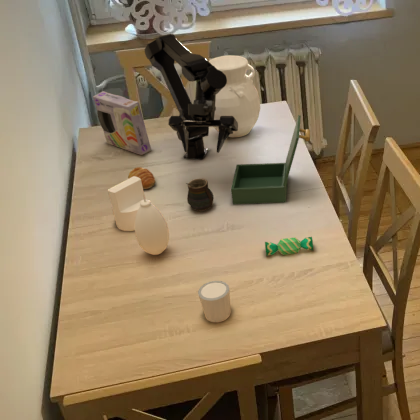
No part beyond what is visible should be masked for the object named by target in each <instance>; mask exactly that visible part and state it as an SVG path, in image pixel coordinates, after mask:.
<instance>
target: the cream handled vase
mask: <svg viewBox="0 0 420 420" xmlns="http://www.w3.org/2000/svg"><path fill="white" fill-rule="evenodd" d="M208 61H209V62H210V63H211V64H212V65H213V66H215V68H217V70H220V71H222V72H223V73H224V74H225V75H226V78H227V83H226V85H225V86H224V87H223V89H222V90H221V91H220V92H219V93H218V94H216V100H215V107H216V110H215V116H214V120H220V117H221V116H233V117H234V118H235V119H236V121H237V122H238V131H233V134H230V135H229V136H228V138H241V137H245V136H247V135H248V134H249V133H250V132H251V131H252V130H253V128H254V127H255V126H256V123H257V121H258V120H259V116H260V112H261V99H260V96H259V92H258V89H257V88H256V86H255V83H254V78H255V75H256V70H255V69H254V67H253V66H252V65H251V64H249V60H248V59H247V58H246V57H244V56H242V55H233V54H231V55H229V54H228V55H227V54H226V55H220V56H216V57H213V58H211V59H209V60H208ZM249 70H250V74H247V71H249ZM213 128H214V129H215V130H216V131H217V132H218V133H219V127H213Z"/></svg>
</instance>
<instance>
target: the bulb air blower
mask: <svg viewBox="0 0 420 420" xmlns="http://www.w3.org/2000/svg"><path fill="white" fill-rule="evenodd" d="M143 198H144V200H143V201H141V202H140V207H139V209H138V211H137V214H136V218H135V230H134V235H135V238H136V241H137V243H138V245H139V246H140V248H141V249H142V250H143V251H144V252H146V254H150V255H153V256H158V255H160V254H162V253H163V252H164V251H165V250H166V249H167V248H168V245H169V241H170V229H169V225H168V223H167V220H166V218H165V216H164V215H163V213H162V212H161V210H160V209H159V208H158V207H157V206H156V205H154V204H153V203H152V201H151V200H150V199H147V198H146V195H145V192H144V193H143Z"/></svg>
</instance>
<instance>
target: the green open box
mask: <svg viewBox="0 0 420 420" xmlns="http://www.w3.org/2000/svg"><path fill="white" fill-rule="evenodd" d="M285 163H286V162H270V163H269V162H268V163H244V164H243V163H241V164H236V166H235V169H234V170H235V171H234V175H233V178H232V183H231V186H230V195H231V201H232V205H251V204H255V205H256V204H276V203H277V204H278V203H286V202H287V194H288V182H289V178H288V179H287V183H286V186H283V182H284V173H285Z"/></svg>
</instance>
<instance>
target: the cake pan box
mask: <svg viewBox="0 0 420 420" xmlns="http://www.w3.org/2000/svg"><path fill="white" fill-rule="evenodd" d="M92 98H93V102H94V104H95V109H96V113H97V119H98V122H99V124H100V127H101V129H102V130H103V134H104V138H105V142H106V144H108V145H110V146H111V145H112V146H115V147H117V148H120V149H122V150H125V151H128V152H131V153H134V154H137V155H140V156H142V155H145V154H147V153H149V152H151V151H152V147H151V142H150V139H149V135H148V131H147V128H146V124H145V120H144V116H143V113H142V110H141V109H142V108H141V105H140V102H139V101H135V100H132V99H129V98H126V97H125V96H121V95H118V94H113V93H110V92H107V91H104V90H103V91H100V92H99V93H97V94H96V95H93V96H92Z"/></svg>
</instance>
